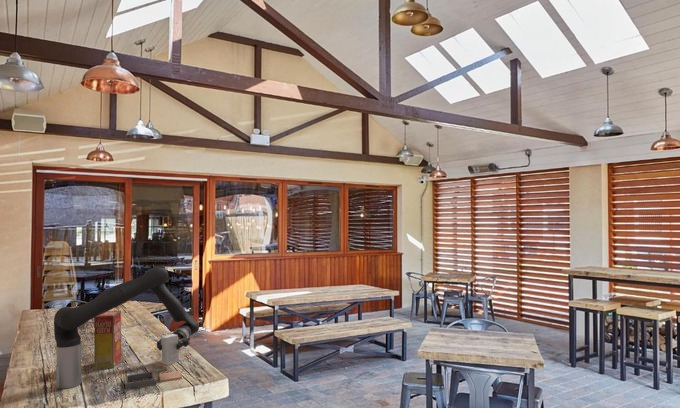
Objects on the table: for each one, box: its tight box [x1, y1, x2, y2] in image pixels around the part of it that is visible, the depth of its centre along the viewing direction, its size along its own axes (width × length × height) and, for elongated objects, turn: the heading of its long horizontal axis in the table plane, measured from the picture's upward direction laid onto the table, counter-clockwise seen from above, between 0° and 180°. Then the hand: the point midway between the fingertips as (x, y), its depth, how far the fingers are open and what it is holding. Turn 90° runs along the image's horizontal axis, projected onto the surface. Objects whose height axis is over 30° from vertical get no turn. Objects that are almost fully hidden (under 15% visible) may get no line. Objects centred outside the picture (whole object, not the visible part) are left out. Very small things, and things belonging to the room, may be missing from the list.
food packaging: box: [93, 310, 122, 370], centre depth 232 cm, size 13×9×25 cm
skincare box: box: [160, 333, 180, 366], centre depth 211 cm, size 6×4×12 cm
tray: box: [124, 371, 156, 389], centre depth 206 cm, size 12×12×2 cm
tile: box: [158, 370, 183, 383], centre depth 210 cm, size 9×9×1 cm
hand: (168, 347), depth 209 cm, fingers closed on skincare box, 7 cm apart
